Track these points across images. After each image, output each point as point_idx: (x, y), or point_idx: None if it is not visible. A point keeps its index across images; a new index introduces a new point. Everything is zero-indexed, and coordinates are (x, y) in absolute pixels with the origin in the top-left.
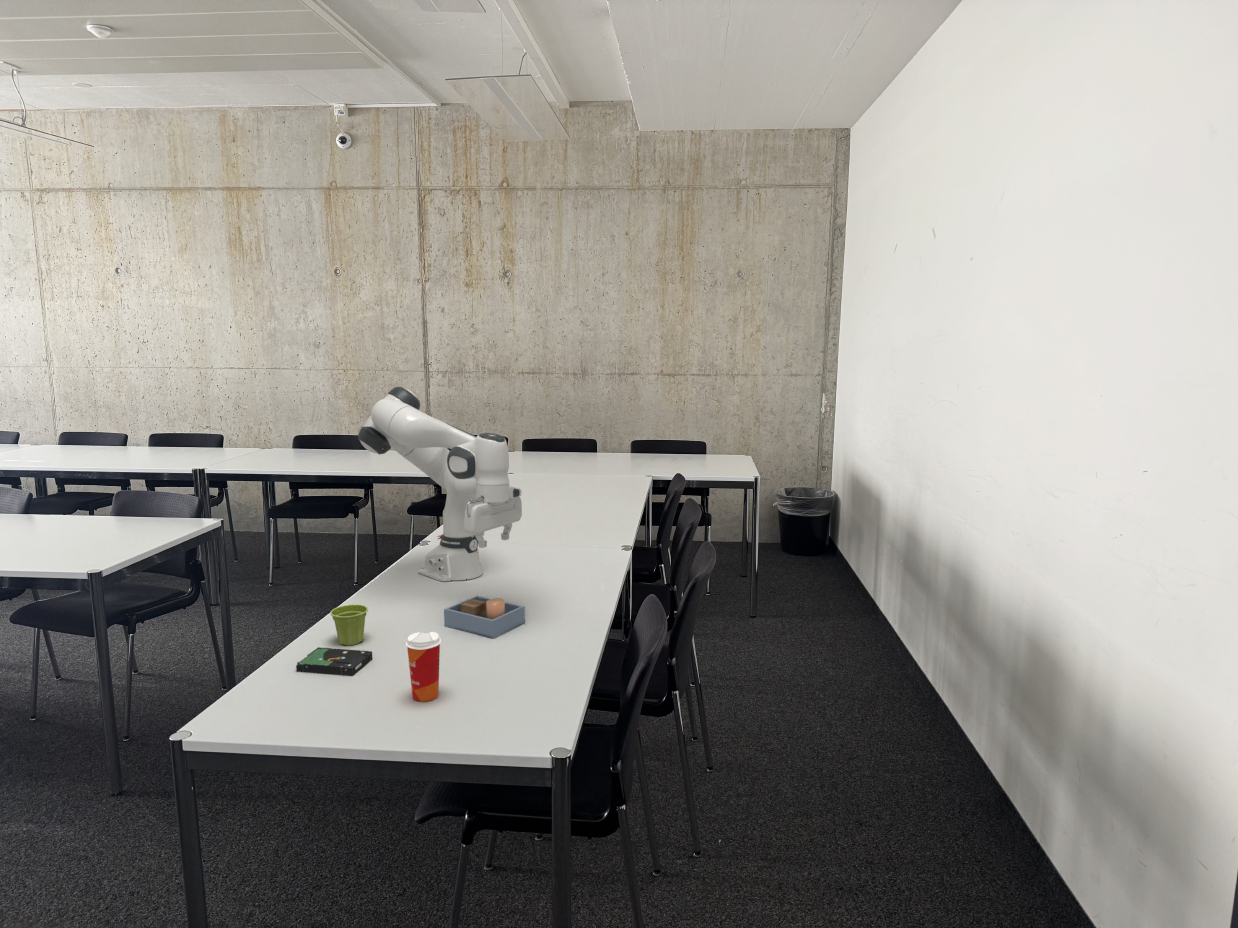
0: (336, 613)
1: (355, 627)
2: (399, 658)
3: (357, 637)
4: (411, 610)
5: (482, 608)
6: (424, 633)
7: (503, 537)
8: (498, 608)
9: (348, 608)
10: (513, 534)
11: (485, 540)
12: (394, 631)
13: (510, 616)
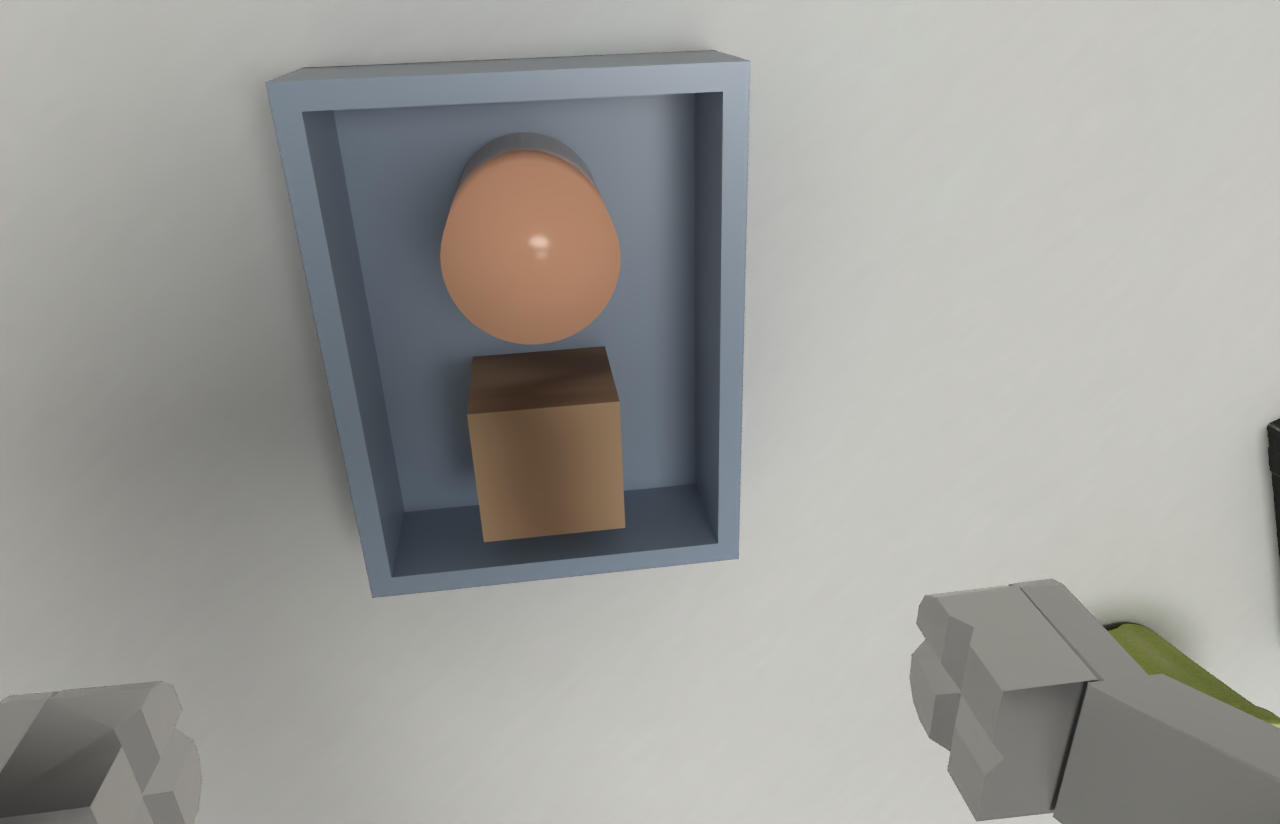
0: None
1: (1211, 681)
2: (1222, 320)
3: (1154, 642)
4: (624, 787)
5: (518, 392)
6: None
7: (156, 787)
8: (571, 171)
9: None
10: None
11: (997, 723)
12: (911, 626)
13: (497, 68)
